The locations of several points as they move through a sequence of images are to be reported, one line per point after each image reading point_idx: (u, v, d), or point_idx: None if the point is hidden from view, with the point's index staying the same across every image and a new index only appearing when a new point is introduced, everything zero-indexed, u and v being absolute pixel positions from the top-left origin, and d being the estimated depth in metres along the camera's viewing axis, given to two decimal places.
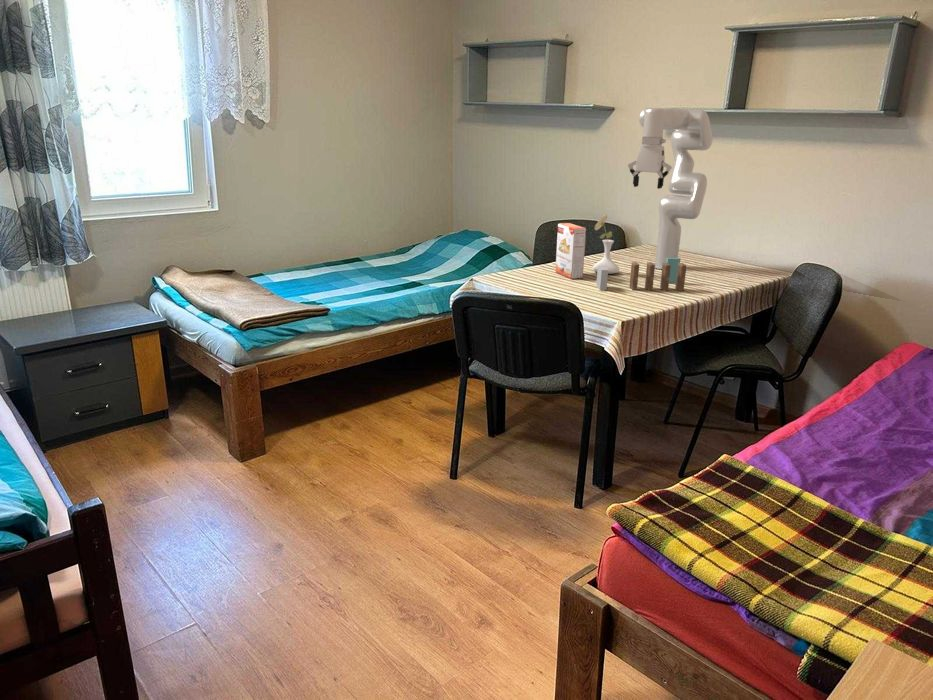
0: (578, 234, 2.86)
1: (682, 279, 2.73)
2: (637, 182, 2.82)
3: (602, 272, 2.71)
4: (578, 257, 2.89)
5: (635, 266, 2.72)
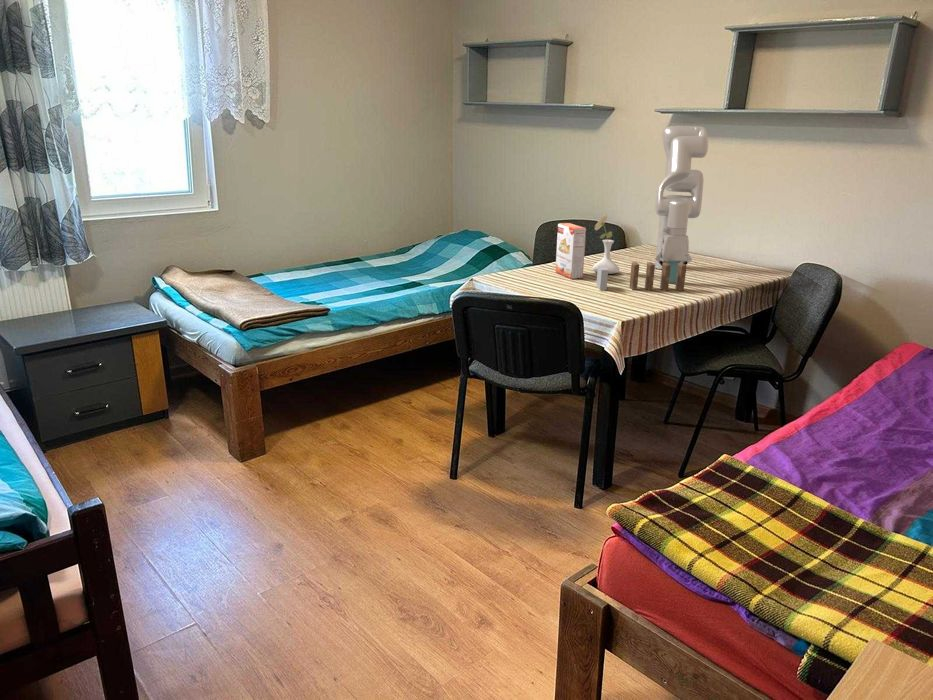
0: (578, 234, 2.86)
1: (682, 279, 2.73)
2: None
3: (602, 272, 2.71)
4: (578, 257, 2.89)
5: (635, 266, 2.72)
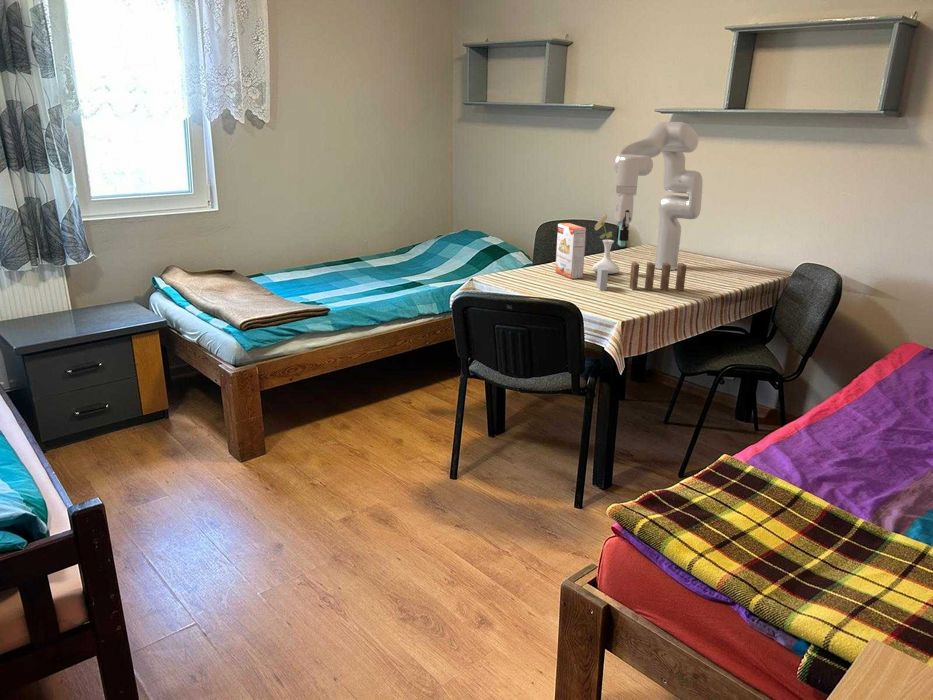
0: (578, 234, 2.86)
1: (682, 279, 2.73)
2: None
3: (602, 272, 2.71)
4: (578, 257, 2.89)
5: (635, 266, 2.72)
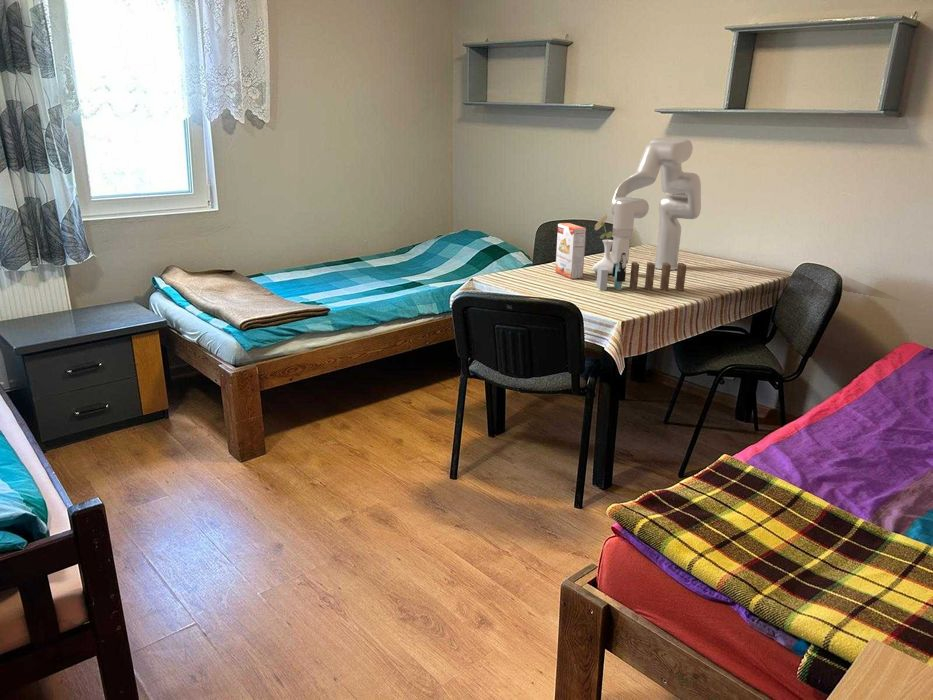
0: (578, 234, 2.86)
1: (682, 279, 2.73)
2: None
3: (602, 272, 2.71)
4: (578, 257, 2.89)
5: (635, 266, 2.72)
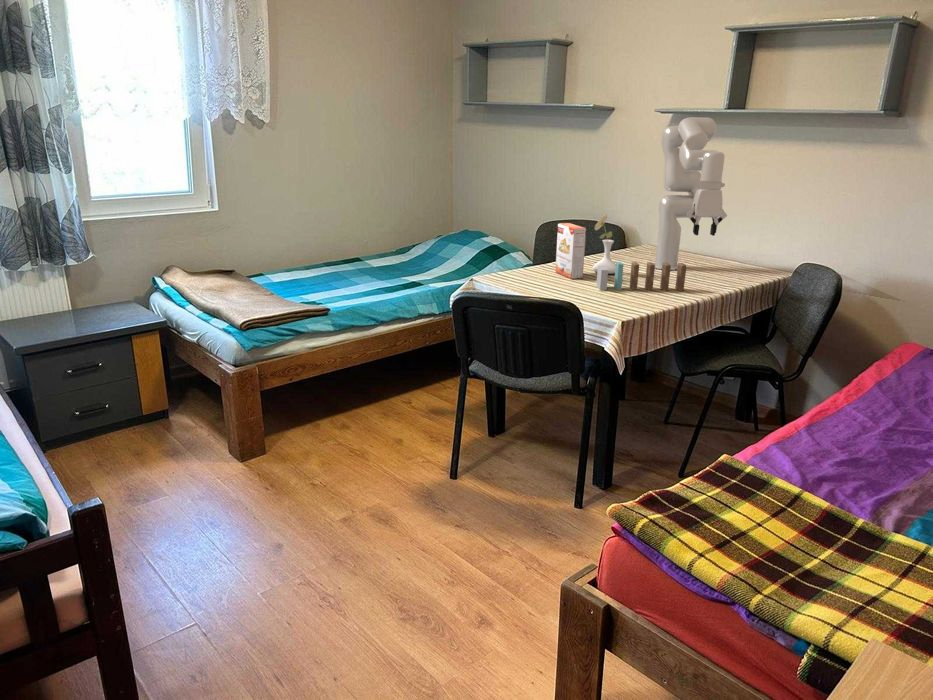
0: (578, 234, 2.86)
1: (682, 279, 2.73)
2: None
3: (602, 272, 2.71)
4: (578, 257, 2.89)
5: (635, 266, 2.72)
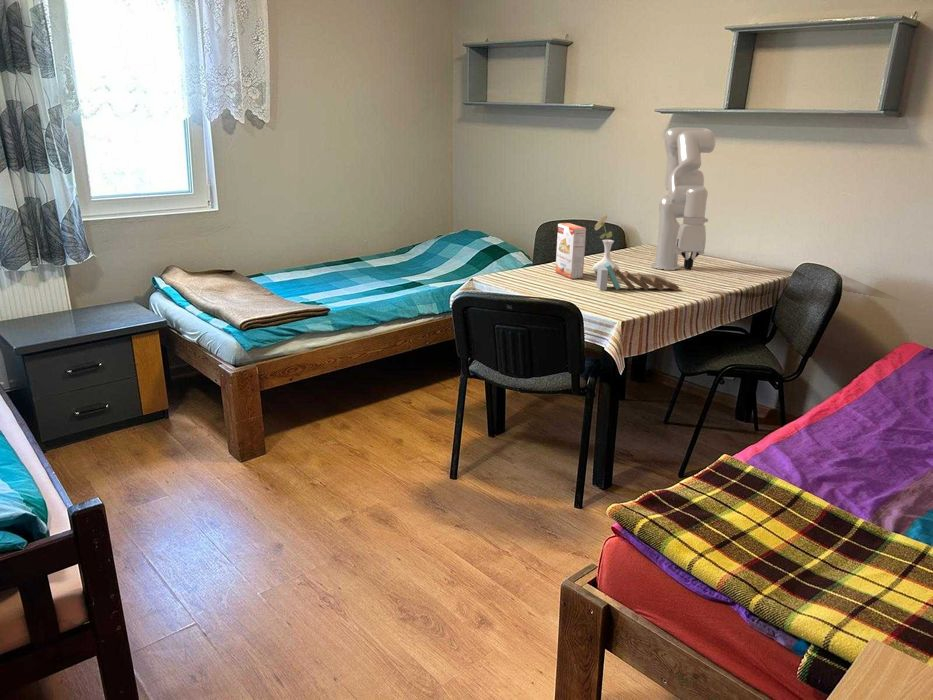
0: (578, 234, 2.86)
1: (666, 285, 2.74)
2: None
3: (602, 272, 2.71)
4: (578, 257, 2.89)
5: (616, 272, 2.73)
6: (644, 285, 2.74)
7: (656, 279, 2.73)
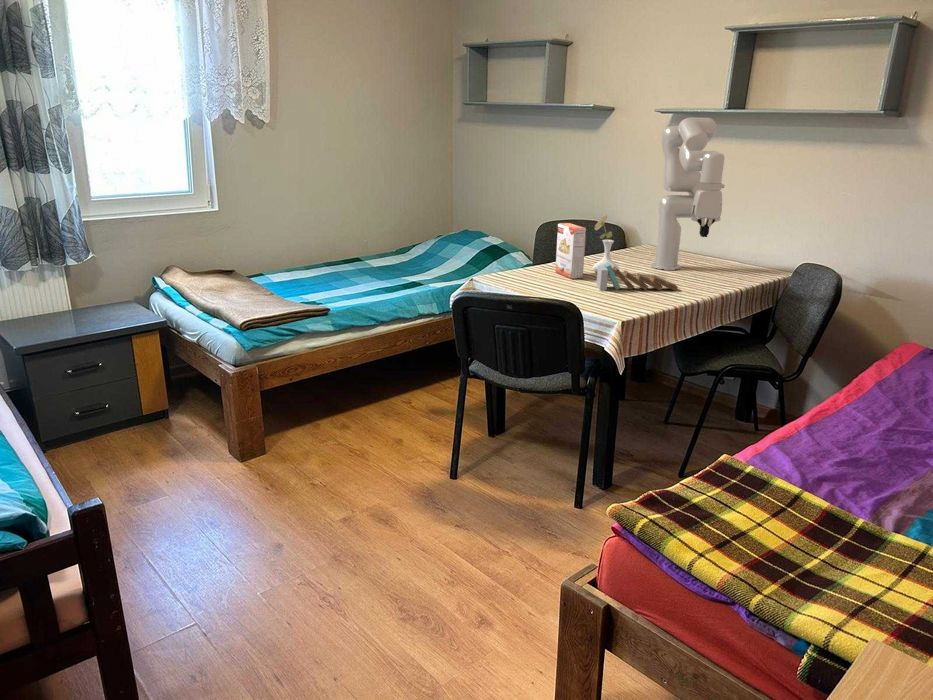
0: (578, 234, 2.86)
1: (665, 284, 2.74)
2: None
3: (602, 272, 2.71)
4: (578, 257, 2.89)
5: (615, 272, 2.73)
6: (643, 285, 2.74)
7: (655, 279, 2.73)
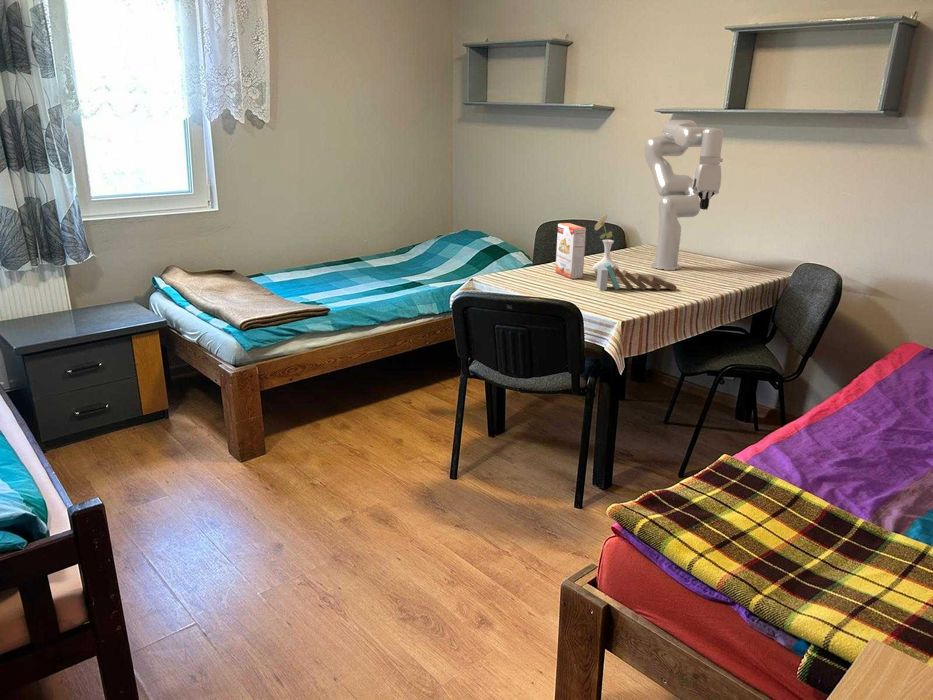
0: (578, 234, 2.86)
1: (664, 284, 2.74)
2: None
3: (602, 272, 2.71)
4: (578, 257, 2.89)
5: (615, 271, 2.72)
6: (642, 285, 2.74)
7: (654, 279, 2.73)
